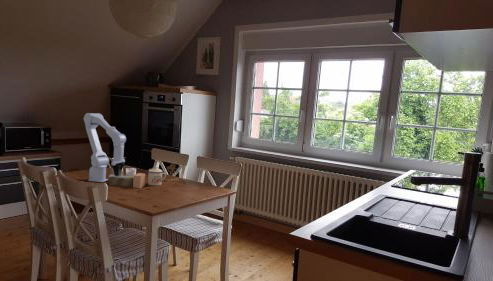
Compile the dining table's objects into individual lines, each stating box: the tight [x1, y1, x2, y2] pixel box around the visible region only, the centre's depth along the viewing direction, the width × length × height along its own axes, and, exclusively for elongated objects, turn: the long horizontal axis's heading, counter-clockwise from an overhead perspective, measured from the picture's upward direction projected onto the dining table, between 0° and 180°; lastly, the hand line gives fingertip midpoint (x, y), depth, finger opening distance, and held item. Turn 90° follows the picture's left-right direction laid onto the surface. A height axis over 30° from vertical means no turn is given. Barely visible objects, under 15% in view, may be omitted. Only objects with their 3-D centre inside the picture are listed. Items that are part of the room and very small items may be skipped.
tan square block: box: [132, 172, 146, 189], centre depth 217 cm, size 4×8×8 cm, turn 176°
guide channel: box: [108, 176, 133, 188], centre depth 218 cm, size 15×6×4 cm, turn 86°
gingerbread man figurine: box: [164, 163, 180, 183], centre depth 241 cm, size 9×4×12 cm, turn 129°
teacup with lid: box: [147, 166, 167, 187], centre depth 227 cm, size 12×9×12 cm
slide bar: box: [108, 169, 134, 179], centre depth 218 cm, size 14×3×7 cm, turn 86°
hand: (117, 174), depth 218 cm, fingers closed on slide bar, 3 cm apart
